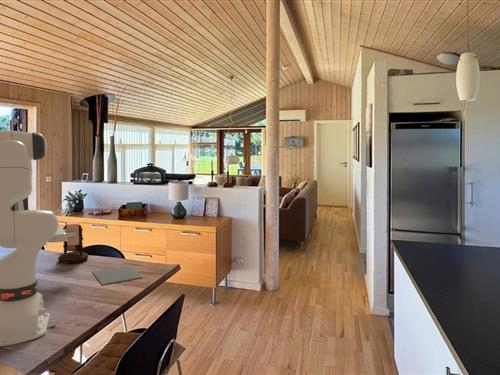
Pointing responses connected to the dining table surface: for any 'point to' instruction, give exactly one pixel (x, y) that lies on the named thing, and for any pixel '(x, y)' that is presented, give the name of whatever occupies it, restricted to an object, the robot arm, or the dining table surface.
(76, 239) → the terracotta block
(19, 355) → the dining table surface
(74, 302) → the dining table surface
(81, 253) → the dark brown ornate stand
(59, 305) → the dining table surface
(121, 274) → the flat slab
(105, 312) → the dining table surface
